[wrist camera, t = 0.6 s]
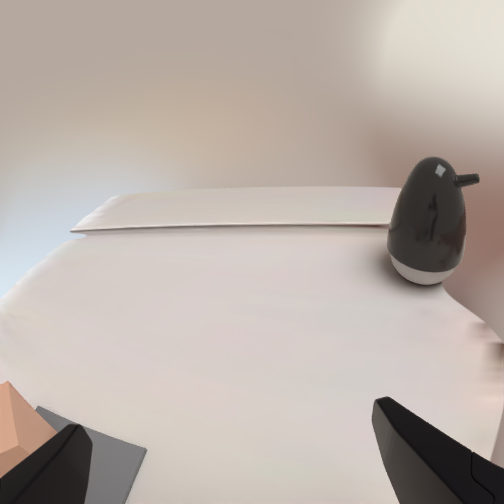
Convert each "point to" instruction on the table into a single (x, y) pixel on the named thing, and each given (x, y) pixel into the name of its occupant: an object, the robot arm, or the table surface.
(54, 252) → the table surface
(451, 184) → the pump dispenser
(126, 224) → the table surface
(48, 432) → the salmon orange block
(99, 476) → the charcoal mat
